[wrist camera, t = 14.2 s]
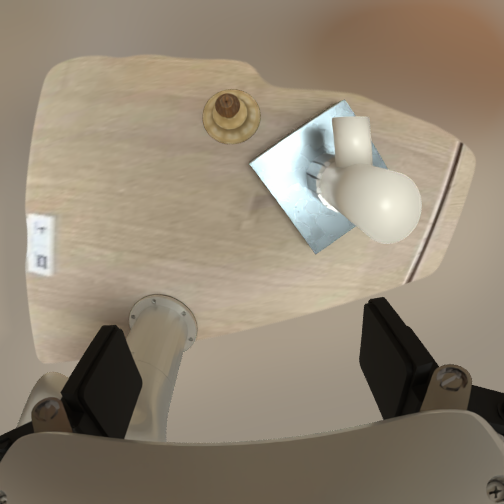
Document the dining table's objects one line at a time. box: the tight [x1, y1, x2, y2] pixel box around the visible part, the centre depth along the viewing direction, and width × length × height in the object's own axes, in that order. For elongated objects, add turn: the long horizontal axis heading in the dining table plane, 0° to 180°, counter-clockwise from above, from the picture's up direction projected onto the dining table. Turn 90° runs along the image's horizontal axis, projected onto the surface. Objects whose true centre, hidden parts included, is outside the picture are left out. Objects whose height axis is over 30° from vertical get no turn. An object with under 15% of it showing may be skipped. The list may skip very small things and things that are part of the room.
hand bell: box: [203, 89, 261, 144], centre depth 34 cm, size 8×8×16 cm
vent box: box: [249, 100, 387, 254], centre depth 40 cm, size 16×16×10 cm
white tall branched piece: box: [320, 116, 422, 244], centre depth 30 cm, size 11×6×16 cm, turn 6°
